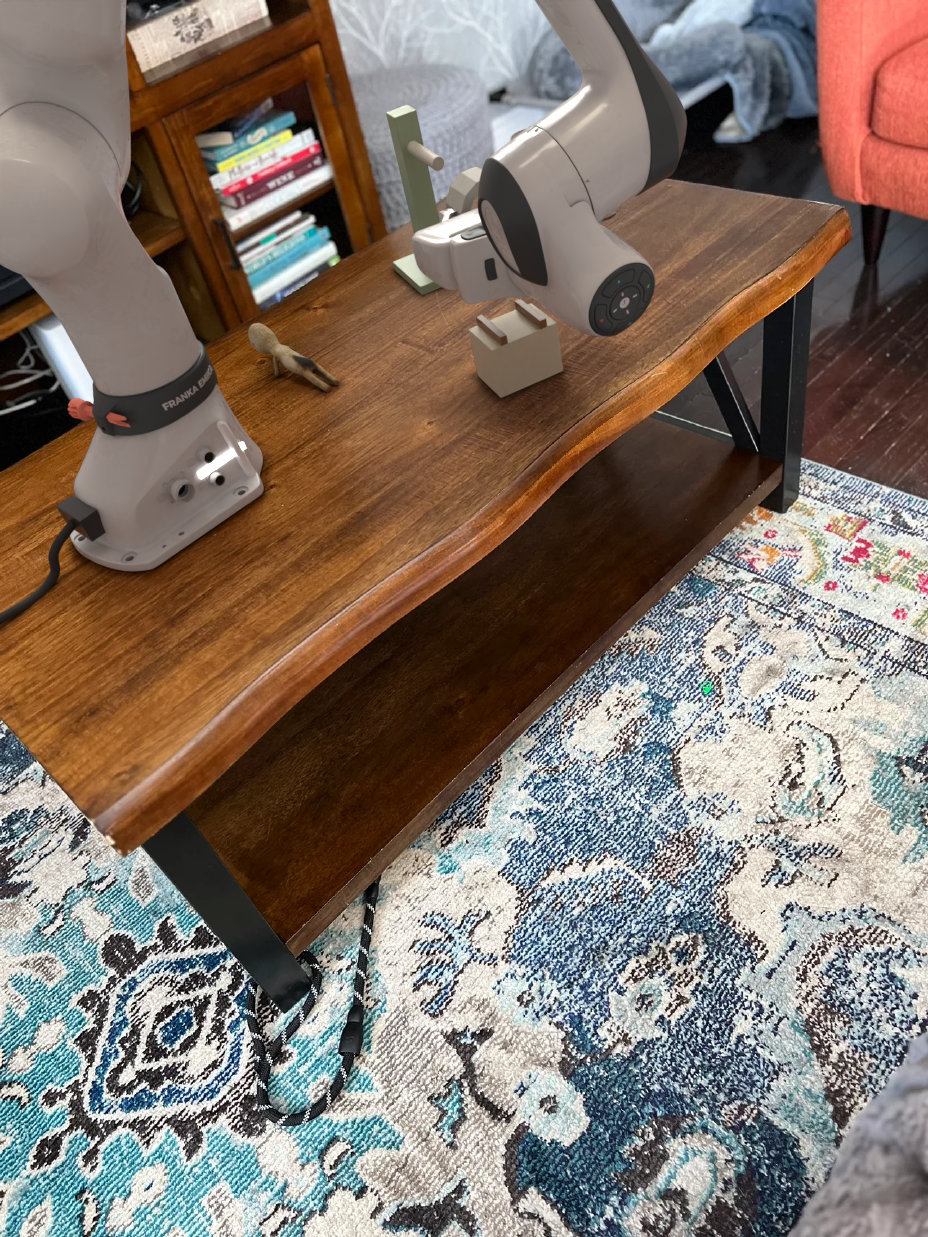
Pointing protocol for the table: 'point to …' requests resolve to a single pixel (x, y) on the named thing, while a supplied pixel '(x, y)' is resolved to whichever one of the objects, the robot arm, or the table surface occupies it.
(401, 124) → the hook stand
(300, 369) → the figurine
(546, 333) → the tape cradle
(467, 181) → the tape
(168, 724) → the table surface
